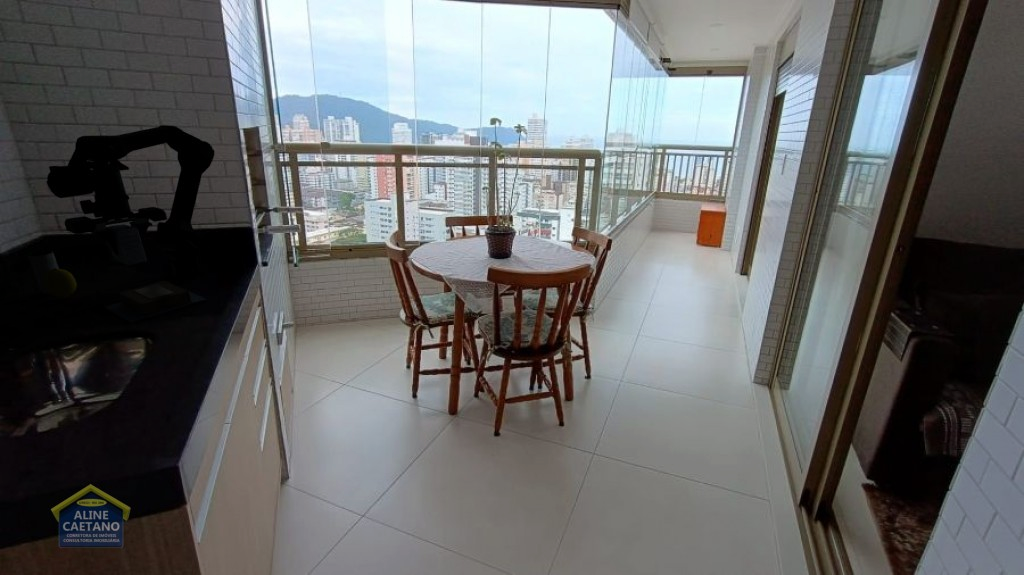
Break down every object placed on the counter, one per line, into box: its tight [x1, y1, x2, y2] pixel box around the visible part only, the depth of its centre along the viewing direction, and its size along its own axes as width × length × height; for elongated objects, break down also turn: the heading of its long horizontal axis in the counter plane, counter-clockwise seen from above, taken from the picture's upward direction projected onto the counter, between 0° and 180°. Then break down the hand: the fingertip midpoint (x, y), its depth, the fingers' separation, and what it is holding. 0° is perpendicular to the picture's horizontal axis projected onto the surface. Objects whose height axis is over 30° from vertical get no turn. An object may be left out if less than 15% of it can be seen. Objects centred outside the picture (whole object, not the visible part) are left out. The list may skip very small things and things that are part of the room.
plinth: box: [118, 280, 191, 316], centre depth 112 cm, size 10×12×3 cm
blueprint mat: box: [104, 291, 207, 324], centre depth 113 cm, size 16×14×1 cm
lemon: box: [44, 268, 77, 299], centre depth 113 cm, size 6×6×8 cm
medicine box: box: [106, 223, 148, 266], centre depth 114 cm, size 8×4×9 cm, turn 58°
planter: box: [27, 250, 60, 295], centre depth 116 cm, size 4×4×10 cm
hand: (128, 252), depth 115 cm, fingers closed on medicine box, 4 cm apart
